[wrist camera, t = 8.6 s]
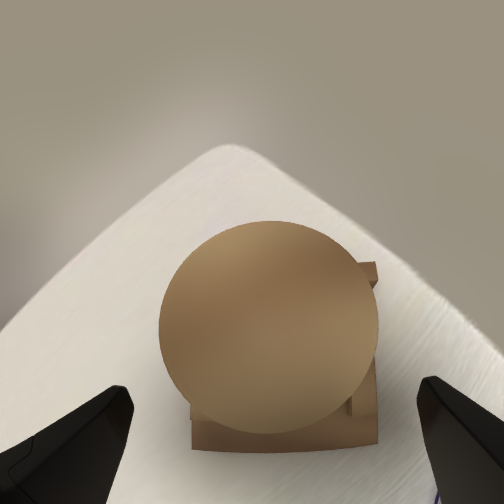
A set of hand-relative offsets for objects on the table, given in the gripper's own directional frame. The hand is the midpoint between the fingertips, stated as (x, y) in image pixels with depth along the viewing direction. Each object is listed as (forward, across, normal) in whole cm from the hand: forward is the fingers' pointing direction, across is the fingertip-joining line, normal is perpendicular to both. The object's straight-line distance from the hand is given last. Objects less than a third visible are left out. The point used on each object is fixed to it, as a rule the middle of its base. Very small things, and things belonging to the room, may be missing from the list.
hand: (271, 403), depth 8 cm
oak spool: (+9, 0, +6) cm, 11 cm away
